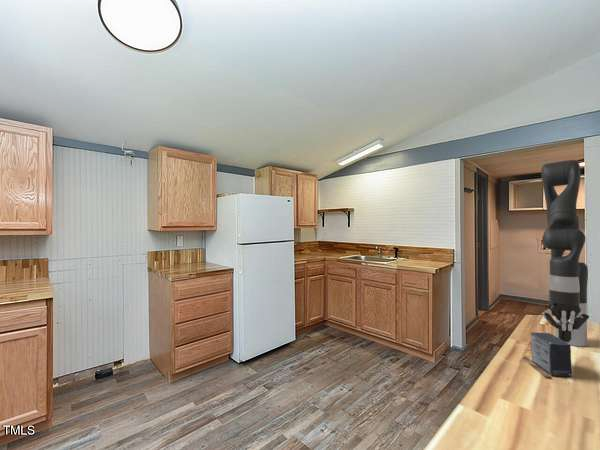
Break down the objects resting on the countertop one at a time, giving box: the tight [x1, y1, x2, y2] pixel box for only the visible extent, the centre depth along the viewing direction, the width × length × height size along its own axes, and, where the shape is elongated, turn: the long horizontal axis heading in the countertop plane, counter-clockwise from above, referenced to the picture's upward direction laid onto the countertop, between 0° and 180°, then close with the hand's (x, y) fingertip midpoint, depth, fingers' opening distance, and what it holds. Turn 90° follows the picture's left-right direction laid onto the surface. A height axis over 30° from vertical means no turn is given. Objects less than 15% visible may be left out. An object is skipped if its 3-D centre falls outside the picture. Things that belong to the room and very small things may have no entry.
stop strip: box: [522, 356, 552, 380], centre depth 99 cm, size 14×2×1 cm, turn 167°
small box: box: [530, 331, 573, 378], centre depth 98 cm, size 11×6×10 cm, turn 169°
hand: (564, 341), depth 97 cm, fingers closed
